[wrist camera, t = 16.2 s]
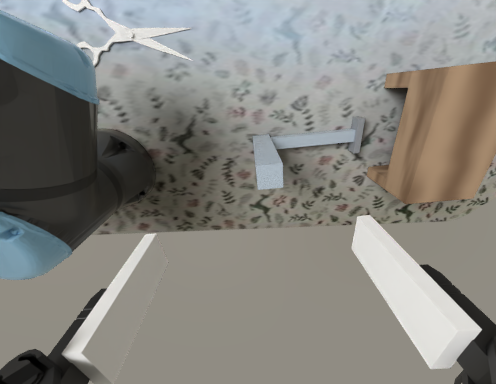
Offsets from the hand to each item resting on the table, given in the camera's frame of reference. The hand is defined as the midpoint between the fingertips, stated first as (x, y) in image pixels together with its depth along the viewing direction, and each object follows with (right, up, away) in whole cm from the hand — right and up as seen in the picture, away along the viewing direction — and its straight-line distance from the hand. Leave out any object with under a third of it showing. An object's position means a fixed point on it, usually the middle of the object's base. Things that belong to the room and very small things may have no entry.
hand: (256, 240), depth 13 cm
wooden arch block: (+28, +15, +22) cm, 39 cm away
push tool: (+10, +13, +23) cm, 28 cm away
